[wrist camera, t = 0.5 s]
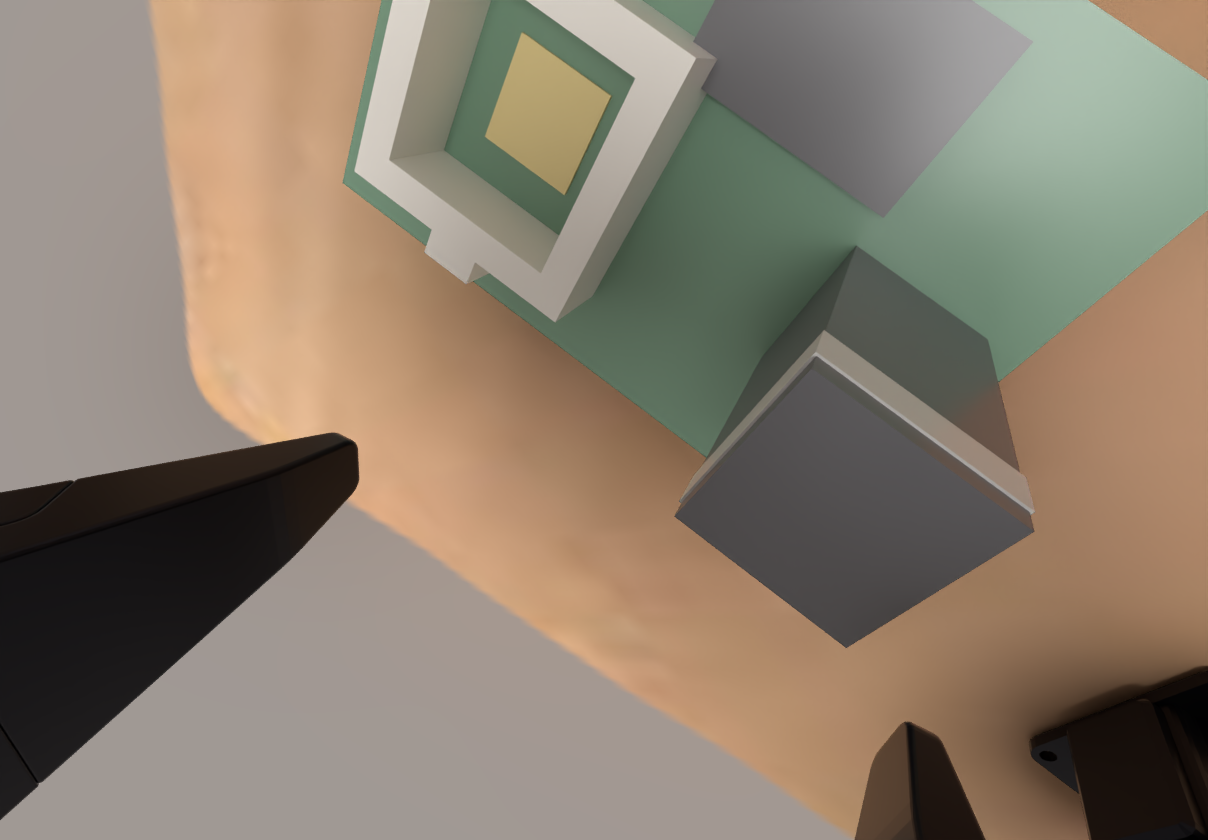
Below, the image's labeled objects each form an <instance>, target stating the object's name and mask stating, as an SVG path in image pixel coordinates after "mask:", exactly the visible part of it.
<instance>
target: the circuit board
mask: <svg viewBox="0 0 1208 840" xmlns="http://www.w3.org/2000/svg"><path fill="white" fill-rule="evenodd" d="M343 183H344V184H345V185H346V186H348V187H349V188H350V189H351V190H353V191H354V192H355V193H357V194H358V195H359V196H361V197H362V198H363V199H365V200H366V201H367V202H369V203H370V204H371V205H373V206H374V207H375V208H377V209H378V210H379V211H381V212H382V213H383V214H385V215H386V216H387V217H389V218H390V219H391V220H393V221H394V222H395V223H396V224H398V225H399V226H400V227H402V228H403V229H404V230H406V231H407V232H408V233H410V234H411V235H412V236H414V237H415V238H416V239H418V240H419V241H420V242H422V243H423V244H424V245H426V249H425V252H424V253H426V254H427V255H428V256H430V257H431V258H432V259H434V260H435V261H436V262H438V263H439V264H440V265H442V266H443V267H444V268H445V269H447V270H448V271H449V272H451V273H452V274H453V275H455V276H456V277H457V278H459V279H460V280H461V281H463V282H464V283H465V284H468V283H470V282H472V281H473V282H475V283H476V284H477V285H479V286H480V287H481V288H483V289H484V290H485V291H487V292H488V293H489V294H490V295H492V296H493V297H494V298H496V299H497V300H498V301H500V302H501V303H502V304H504V305H505V306H506V307H508V308H509V309H510V310H512V311H513V312H514V313H516V314H517V315H518V316H520V317H521V318H522V319H524V320H525V321H526V322H528V323H529V324H530V325H532V326H533V327H534V328H535V329H537V330H538V331H539V332H541V333H542V334H543V335H545V336H546V337H547V338H549V339H550V340H551V341H553V342H554V343H555V344H557V345H558V346H559V347H561V348H562V349H563V350H565V351H566V352H567V353H569V354H570V355H571V356H573V357H574V358H575V359H577V360H578V361H579V362H580V363H582V364H583V365H584V366H586V367H587V368H588V369H590V370H591V371H592V372H594V373H595V374H596V375H598V376H599V377H600V378H602V379H603V380H604V381H606V382H607V383H608V384H610V385H611V386H612V387H614V388H615V389H616V390H618V391H619V392H620V393H622V394H623V395H624V396H625V397H627V398H628V399H629V400H631V401H632V402H633V403H635V404H636V405H637V406H639V407H640V408H641V409H643V410H644V411H645V412H647V413H648V414H649V415H651V416H652V417H653V418H655V419H656V420H657V421H659V422H660V423H661V424H663V425H664V426H665V427H667V428H668V429H669V430H671V431H672V432H673V433H674V434H676V435H677V436H678V437H680V438H681V439H682V440H684V441H685V442H686V443H688V444H689V445H690V446H692V447H693V448H694V449H696V450H697V451H698V452H700V453H701V454H702V455H704V456H705V457H706V458H707V456H708V454H709V452H710V450H711V448H712V447H713V445H714V443H715V441H716V439H717V438H718V436H719V434H720V432H721V430H722V428H723V427H724V425H725V423H726V421H727V419H728V417H729V416H730V414H731V412H732V410H733V408H734V407H735V405H736V403H737V401H738V399H739V397H740V396H741V394H742V392H743V390H744V388H745V387H746V385H747V383H748V381H749V379H750V377H751V376H752V374H753V372H754V370H755V368H756V366H757V365H758V363H759V361H760V359H761V358H762V356H763V355H764V354H765V353H766V352H767V351H768V349H769V348H770V347H771V346H772V345H773V343H774V342H775V341H776V340H777V339H778V338H779V336H780V335H781V334H782V333H783V332H784V330H785V329H786V328H787V327H788V326H789V325H790V323H791V322H792V321H793V320H794V319H795V317H796V316H797V315H798V314H799V313H800V312H801V310H802V309H803V308H804V307H805V306H806V304H807V303H808V302H809V301H810V300H811V299H812V297H813V296H814V295H815V294H816V293H817V291H818V290H819V289H820V288H821V287H822V286H823V284H824V283H825V282H826V281H827V280H828V278H829V277H830V276H831V275H832V274H833V273H834V271H835V270H836V269H837V268H838V267H839V265H840V264H841V263H842V262H843V261H844V260H845V258H846V257H847V256H848V255H849V254H850V252H851V251H852V250H853V249H854V248H855V247H856V246H858V247H859V248H861V249H862V250H863V251H865V252H866V253H868V254H869V255H870V256H872V257H873V258H875V259H876V260H877V261H879V262H880V263H882V264H883V265H884V266H886V267H887V268H889V269H890V270H891V271H893V272H894V273H896V274H897V275H898V276H900V277H901V278H903V279H904V280H905V281H907V282H908V283H910V284H911V285H912V286H914V287H915V288H917V289H918V290H919V291H921V292H922V293H924V294H925V295H926V296H928V297H929V298H931V299H932V300H933V301H935V302H936V303H938V304H939V305H940V306H942V307H943V308H945V309H946V310H947V311H949V312H950V313H952V314H953V315H954V316H956V317H957V318H959V319H960V320H961V321H963V322H964V323H966V324H967V325H968V326H970V327H971V328H973V329H974V330H975V331H977V332H978V333H980V334H981V335H982V336H984V337H985V338H987V339H988V342H989V346H990V350H991V355H992V359H993V363H994V367H995V371H996V375H997V379H998V382H999V381H1001V380H1002V379H1003V378H1004V377H1005V376H1007V375H1008V374H1009V373H1010V372H1011V371H1013V370H1014V369H1015V368H1016V367H1018V366H1019V365H1020V364H1021V363H1022V362H1024V361H1025V360H1026V359H1027V358H1029V357H1030V356H1031V355H1032V354H1033V353H1035V352H1036V351H1037V350H1038V349H1039V348H1041V347H1042V346H1043V345H1044V344H1046V343H1047V342H1048V341H1049V340H1050V339H1052V338H1053V337H1054V336H1055V335H1056V334H1058V333H1059V332H1060V331H1061V330H1063V329H1064V328H1065V327H1066V326H1067V325H1069V324H1070V323H1071V322H1072V321H1074V320H1075V319H1076V318H1077V317H1078V316H1080V315H1081V314H1082V313H1083V312H1084V311H1086V310H1087V309H1088V308H1089V307H1091V306H1092V305H1093V304H1094V303H1095V302H1097V301H1098V300H1099V299H1100V298H1101V297H1103V296H1104V295H1105V294H1106V293H1108V292H1109V291H1110V290H1111V289H1112V288H1114V287H1115V286H1116V285H1117V284H1119V283H1120V282H1121V281H1122V280H1123V279H1125V278H1126V277H1127V276H1128V275H1129V274H1131V273H1132V272H1133V271H1134V270H1136V269H1137V268H1138V267H1139V266H1140V265H1142V264H1143V263H1144V262H1145V261H1147V260H1148V259H1149V258H1150V257H1151V256H1153V255H1154V254H1155V253H1156V252H1157V251H1159V250H1160V249H1161V248H1162V247H1164V246H1165V245H1166V244H1167V243H1168V242H1170V241H1171V240H1172V239H1173V238H1174V237H1176V236H1177V235H1178V234H1179V233H1181V232H1182V231H1183V230H1184V229H1185V228H1187V227H1188V226H1189V225H1190V224H1192V223H1193V222H1194V221H1195V220H1196V219H1198V218H1199V217H1200V216H1201V215H1202V214H1204V213H1205V212H1206V211H1207V210H1208V80H1207V79H1205V78H1204V77H1202V76H1201V75H1199V74H1198V73H1196V72H1195V71H1193V70H1192V69H1190V68H1189V67H1187V66H1186V65H1184V64H1183V63H1181V62H1180V61H1178V60H1177V59H1175V58H1174V57H1172V56H1171V55H1169V54H1168V53H1166V52H1165V51H1163V50H1162V49H1160V48H1159V47H1157V46H1156V45H1154V44H1153V43H1151V42H1150V41H1148V40H1147V39H1145V38H1144V37H1142V36H1141V35H1139V34H1138V33H1136V32H1135V31H1133V30H1132V29H1130V28H1129V27H1127V26H1126V25H1124V24H1123V23H1121V22H1120V21H1118V20H1117V19H1115V18H1114V17H1112V16H1111V15H1109V14H1108V13H1106V12H1105V11H1103V10H1102V9H1100V8H1099V7H1097V6H1096V5H1094V4H1093V3H1091V2H1090V1H1088V0H382V1H381V6H380V10H379V15H378V20H377V24H376V29H375V34H374V39H373V43H372V48H371V53H370V57H369V62H368V67H367V71H366V76H365V81H364V85H363V90H362V95H361V99H360V104H359V109H358V113H357V118H356V123H355V127H354V132H353V137H352V142H351V146H350V151H349V156H348V160H347V165H346V170H345V174H344V179H343Z"/></svg>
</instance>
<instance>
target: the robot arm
mask: <svg viewBox="0 0 1208 840" xmlns="http://www.w3.org/2000/svg"><path fill="white" fill-rule="evenodd" d="M358 482H359V461H358V447H357V445H356V443H355V442H354V441H353V440H351V439H349V438H347V437H345V436H343V435H341V434H338V433H326V434H321V435H315V436H310V437H304V438H299V439H293V440H288V441H282V442H277V443H271V444H266V445H261V446H255V447H250V448H245V449H239V450H233V451H228V452H222V453H217V454H211V455H206V456H201V457H195V458H190V459H184V460H179V461H173V462H167V463H162V464H157V465H151V466H146V467H140V468H135V469H129V470H124V471H118V472H113V473H108V474H102V475H96V476H91V477H85V478H80V479H77V480H75V481H72V480H69V481H63V482H58V483H52V484H47V485H41V486H36V487H30V488H24V489H18V490H12V491H6V492H0V820H1V819H2V818H3V817H4V816H5V815H6V814H7V813H9V812H10V811H11V810H12V809H13V808H14V807H15V806H17V804H19V803H20V802H21V801H22V800H23V799H24V798H25V797H27V796H28V795H29V794H30V793H31V792H32V791H33V790H34V789H35V788H37V787H38V785H39V783H41V782H43V781H44V780H45V779H46V778H47V777H48V776H50V775H51V774H52V773H53V772H54V771H55V770H56V769H57V768H59V767H60V766H61V765H62V764H63V763H64V762H65V761H66V760H68V759H69V758H70V757H71V756H72V755H73V754H74V753H75V752H77V750H79V749H80V748H81V747H82V746H83V745H84V744H85V743H87V742H88V740H90V739H91V738H92V737H93V736H94V735H96V734H97V733H98V732H99V731H100V730H101V729H102V728H103V727H104V726H105V725H107V724H108V723H109V722H110V721H111V720H112V719H113V718H115V717H116V716H117V715H118V714H119V713H120V712H121V711H122V710H123V709H124V708H126V707H127V706H128V705H129V704H130V703H131V702H132V701H133V700H135V699H136V698H137V697H138V696H139V695H140V694H141V693H143V692H144V691H145V690H146V689H147V688H148V687H149V686H150V685H151V684H153V683H154V682H155V681H156V680H157V679H158V678H159V677H160V676H162V675H163V674H164V673H165V672H166V671H167V670H168V669H169V668H170V667H171V666H173V665H174V664H175V663H176V662H177V661H178V660H179V659H181V658H182V657H183V656H184V655H185V654H186V653H187V652H188V651H189V650H191V649H192V648H193V647H194V646H195V645H196V644H197V643H199V642H200V641H201V640H202V639H203V638H204V637H205V636H206V635H207V634H209V633H210V632H211V631H212V630H213V629H214V628H215V627H216V626H217V625H218V624H220V623H221V622H222V621H223V620H224V619H225V618H226V617H228V616H229V615H230V614H231V613H232V612H233V611H234V610H235V609H236V608H238V607H239V606H240V605H241V604H242V603H243V602H244V601H246V600H247V599H248V598H249V597H250V596H251V595H252V594H253V593H254V592H256V591H257V590H258V589H259V588H260V587H261V586H262V585H263V584H265V583H266V582H267V581H268V580H269V579H270V578H271V577H272V576H273V575H275V574H276V573H277V572H278V571H279V570H280V569H281V568H282V567H283V566H284V565H285V564H286V563H288V562H289V561H290V560H291V559H292V558H293V557H294V556H295V555H296V554H297V553H298V552H299V551H300V550H301V549H302V548H303V547H304V546H305V544H306V543H307V542H308V541H309V540H310V539H311V538H312V537H313V536H314V535H315V534H316V532H317V531H318V530H319V529H320V528H321V527H322V526H323V525H324V524H325V523H326V522H327V521H328V520H329V518H330V517H331V516H332V515H333V514H334V513H335V512H336V511H337V510H338V508H340V507H341V505H342V504H343V503H344V502H345V501H346V500H347V499H348V498H349V497H350V496H351V495H352V493H353V492H354V491H355V489H356V487H357V485H358ZM1029 746H1030V752H1031V756H1032V758H1033V759H1034V760H1035V761H1036V762H1038V763H1039V764H1040V765H1042V766H1043V767H1044V768H1046V769H1047V770H1048V771H1049V772H1051V773H1052V774H1053V775H1055V776H1056V777H1057V778H1059V779H1060V780H1061V781H1063V782H1064V783H1065V784H1066V785H1068V786H1069V787H1070V788H1072V789H1073V790H1074V791H1076V792H1077V793H1078V794H1080V799H1081V804H1082V808H1083V813H1084V818H1085V822H1086V827H1087V831H1088V836H1089V840H1208V671H1206V672H1201V673H1198V674H1195V675H1193V676H1190V677H1188V678H1185V679H1182V680H1180V681H1177V682H1175V683H1172V684H1169V685H1167V686H1164V687H1162V688H1159V689H1157V690H1154V691H1151V692H1149V693H1146V694H1144V695H1141V696H1138V697H1136V698H1133V699H1131V700H1128V701H1126V702H1123V703H1120V704H1118V705H1115V706H1113V707H1110V708H1107V709H1105V710H1102V711H1100V712H1097V713H1095V714H1092V715H1089V716H1087V717H1084V718H1082V719H1079V720H1076V721H1074V722H1071V723H1069V724H1066V725H1064V726H1061V727H1058V728H1056V729H1053V730H1051V731H1048V732H1045V733H1043V734H1040V735H1038V736H1035V737H1033V738H1032V739H1030V742H1029ZM855 840H985V837H984V835H983V833H982V831H981V828H980V826H979V824H978V822H977V819H976V817H975V815H974V813H973V810H972V808H971V806H970V803H969V801H968V799H967V797H966V794H965V792H964V790H963V788H962V785H961V783H960V781H959V779H958V776H957V774H956V772H955V770H954V767H953V765H952V763H951V761H950V758H949V756H948V754H947V752H946V749H945V747H944V745H943V743H942V741H941V740H940V739H939V737H938V736H936V735H935V734H933V733H931V732H929V731H927V730H925V729H924V728H922V727H920V726H918V725H916V724H914V723H912V722H904V723H902V724H901V725H900V726H899V727H898V728H897V729H896V730H895V732H894V733H893V734H892V735H891V736H890V738H889V739H888V740H887V741H886V743H885V744H884V745H883V746H882V747H881V749H880V750H879V751H878V752H877V754H876V756H875V758H874V760H873V763H872V766H871V769H870V773H869V778H868V782H867V787H866V791H865V796H864V800H863V805H862V809H861V814H860V818H859V823H858V827H857V832H856V836H855Z"/></svg>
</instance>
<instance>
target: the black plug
mask: <svg viewBox="0 0 1208 840" xmlns="http://www.w3.org/2000/svg"><path fill="white" fill-rule="evenodd" d="M679 502H680V503H681V505H680V507H679V509H678V510H677V512H676V514H675V517H676V518H677V519H678V520H680V521H681V522H682V523H684V524H685V525H686V526H688V527H689V528H690V529H692V530H693V531H694V532H695V533H697V534H698V535H699V536H701V537H702V538H703V539H705V540H706V541H707V542H708V543H710V544H711V545H712V546H714V547H715V548H716V549H718V550H719V551H720V552H722V553H723V554H724V555H725V556H727V557H728V558H729V559H731V560H732V561H733V562H735V563H736V564H737V565H739V566H740V567H741V568H742V569H744V570H745V571H746V572H748V573H749V574H750V575H752V576H753V577H754V578H755V579H757V580H758V581H759V582H761V583H762V584H763V585H765V586H766V587H767V588H769V589H770V590H771V591H772V592H774V593H775V594H776V595H778V596H779V597H780V598H782V599H783V600H784V601H786V602H787V603H788V604H789V605H791V606H792V607H793V608H795V609H796V610H797V611H799V612H800V613H801V614H802V615H804V616H805V617H806V618H808V619H809V620H810V621H812V622H813V623H814V624H816V625H817V626H818V627H819V628H821V629H822V630H823V631H825V632H826V633H827V634H829V635H830V636H831V637H833V638H834V639H835V640H836V641H838V642H839V643H840V644H842V645H843V646H844V647H846V648H847V647H849V646H850V645H852V644H854V643H855V642H857V641H858V640H860V639H862V638H863V637H865V636H867V635H868V634H870V633H871V632H873V631H875V630H876V629H878V628H879V627H881V626H883V625H884V624H886V623H888V622H889V621H891V620H892V619H894V618H896V617H897V616H899V615H900V614H902V613H904V612H905V611H907V610H909V609H910V608H912V607H913V606H915V605H917V604H918V603H920V602H921V601H923V600H925V599H926V598H928V597H929V596H931V595H933V594H934V593H936V592H938V591H939V590H941V589H942V588H944V587H946V586H947V585H949V584H950V583H952V582H954V581H955V580H957V579H959V578H960V577H962V576H963V575H965V574H967V573H968V572H970V571H971V570H973V569H975V568H976V567H978V566H980V565H981V564H983V563H984V562H986V561H988V560H989V559H991V558H992V557H994V556H996V555H997V554H999V553H1000V552H1002V551H1004V550H1005V549H1007V548H1009V547H1010V546H1012V545H1013V544H1015V543H1017V542H1018V541H1020V540H1021V539H1023V538H1025V537H1026V536H1028V535H1030V534H1031V533H1033V532H1034V528H1033V524H1032V520H1031V516H1030V515H1031V514H1033V513H1035V509H1034V505H1033V501H1032V498H1031V494H1030V490H1029V486H1028V482H1027V478H1026V477H1025V476H1024V475H1022V474H1021V473H1020V470H1019V466H1018V462H1017V458H1016V454H1015V450H1014V445H1013V441H1012V437H1011V433H1010V429H1009V425H1008V421H1007V417H1006V412H1005V408H1004V404H1003V400H1002V396H1001V392H1000V388H999V384H998V379H997V375H996V371H995V367H994V363H993V359H992V355H991V350H990V346H989V342H988V339H987V338H985V337H984V336H982V335H981V334H980V333H978V332H977V331H975V330H974V329H973V328H971V327H970V326H968V325H967V324H966V323H964V322H963V321H961V320H960V319H959V318H957V317H956V316H954V315H953V314H952V313H950V312H949V311H947V310H946V309H945V308H943V307H942V306H940V305H939V304H938V303H936V302H935V301H933V300H932V299H931V298H929V297H928V296H926V295H925V294H924V293H922V292H921V291H919V290H918V289H917V288H915V287H914V286H912V285H911V284H910V283H908V282H907V281H905V280H904V279H903V278H901V277H900V276H898V275H897V274H896V273H894V272H893V271H891V270H890V269H889V268H887V267H886V266H884V265H883V264H882V263H880V262H879V261H877V260H876V259H875V258H873V257H872V256H870V255H869V254H868V253H866V252H865V251H863V250H862V249H861V248H859V247H858V246H856V247H855V248H854V249H853V250H852V251H851V252H850V254H849V255H848V256H847V257H846V258H845V260H844V261H843V262H842V263H841V264H840V265H839V267H838V268H837V269H836V270H835V271H834V273H833V274H832V275H831V276H830V277H829V278H828V280H827V281H826V282H825V283H824V284H823V286H822V287H821V288H820V289H819V290H818V291H817V293H816V294H815V295H814V296H813V297H812V299H811V300H810V301H809V302H808V303H807V304H806V306H805V307H804V308H803V309H802V310H801V312H800V313H799V314H798V315H797V316H796V317H795V319H794V320H793V321H792V322H791V323H790V325H789V326H788V327H787V328H786V329H785V330H784V332H783V333H782V334H781V335H780V336H779V338H778V339H777V340H776V341H775V342H774V343H773V345H772V346H771V347H770V348H769V349H768V351H767V352H766V353H765V354H764V355H763V356H762V358H761V359H760V361H759V363H758V365H757V366H756V368H755V370H754V372H753V374H752V376H751V377H750V379H749V381H748V383H747V385H746V387H745V388H744V390H743V392H742V394H741V396H740V397H739V399H738V401H737V403H736V405H735V407H734V408H733V410H732V412H731V414H730V416H729V417H728V419H727V421H726V423H725V425H724V427H723V428H722V430H721V432H720V434H719V436H718V438H717V439H716V441H715V443H714V445H713V447H712V448H711V450H710V452H709V454H708V456H707V458H706V459H705V461H704V463H703V465H702V466H701V467H700V468H699V470H698V471H697V472H696V473H695V474H694V475H693V477H692V479H691V481H690V483H689V484H688V486H687V488H686V490H685V492H684V493H683V495H682V497H681V499H680V500H679Z"/></svg>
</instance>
